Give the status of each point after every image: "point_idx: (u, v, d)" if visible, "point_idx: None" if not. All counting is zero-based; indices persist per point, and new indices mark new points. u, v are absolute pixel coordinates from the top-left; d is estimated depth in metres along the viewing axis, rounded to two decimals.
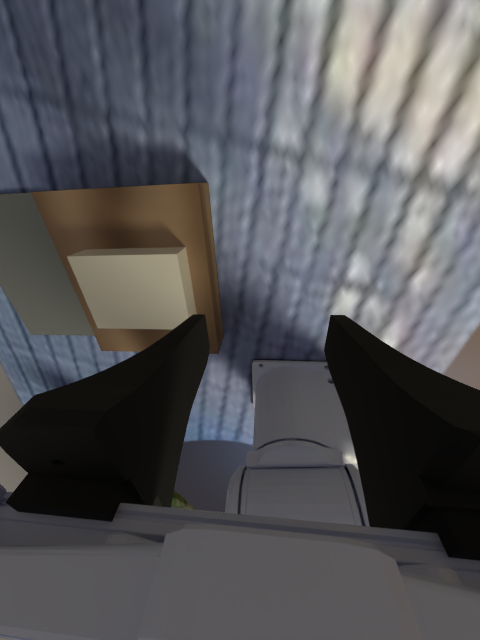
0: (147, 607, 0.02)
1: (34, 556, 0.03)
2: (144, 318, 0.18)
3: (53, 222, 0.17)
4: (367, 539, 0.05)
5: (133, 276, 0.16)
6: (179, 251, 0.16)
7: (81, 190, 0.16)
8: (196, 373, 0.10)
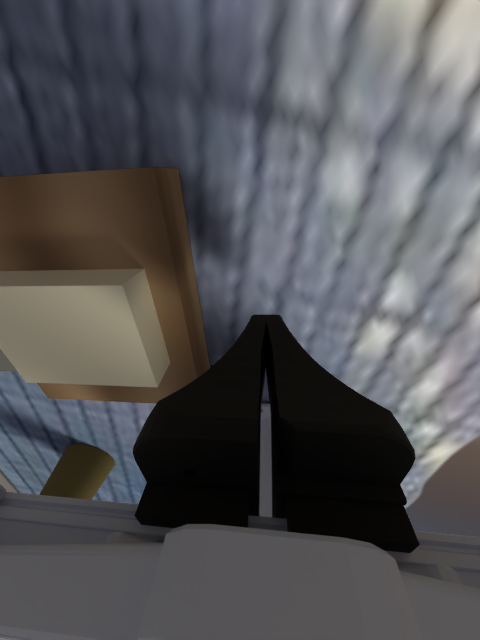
0: (147, 607, 0.02)
1: (34, 556, 0.03)
2: (88, 372, 0.12)
3: None
4: None
5: (61, 317, 0.10)
6: (130, 279, 0.10)
7: None
8: (263, 376, 0.10)
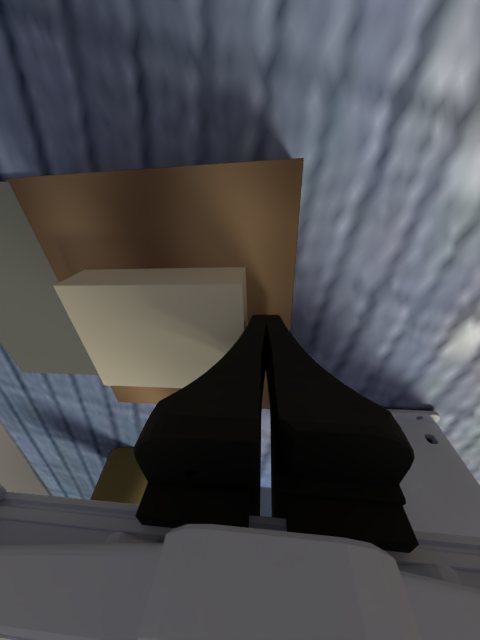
0: (147, 607, 0.02)
1: (34, 556, 0.03)
2: (176, 375, 0.12)
3: (46, 229, 0.10)
4: None
5: (163, 317, 0.10)
6: (243, 278, 0.09)
7: (92, 174, 0.09)
8: (263, 376, 0.10)
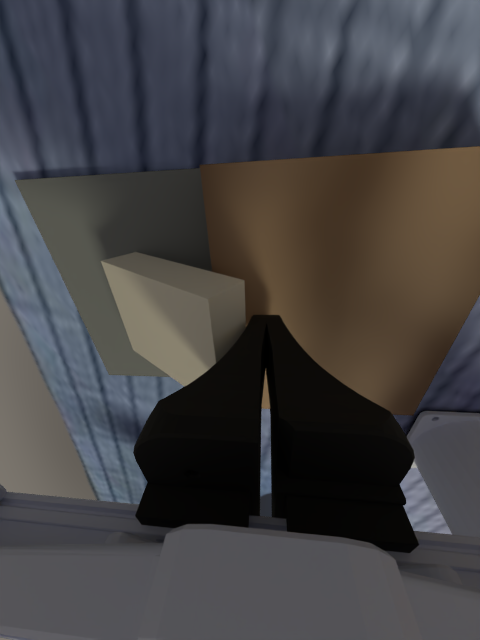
0: (147, 607, 0.02)
1: (34, 556, 0.03)
2: (170, 366, 0.12)
3: (223, 221, 0.10)
4: None
5: (157, 310, 0.10)
6: (220, 292, 0.08)
7: (303, 160, 0.08)
8: (263, 376, 0.10)
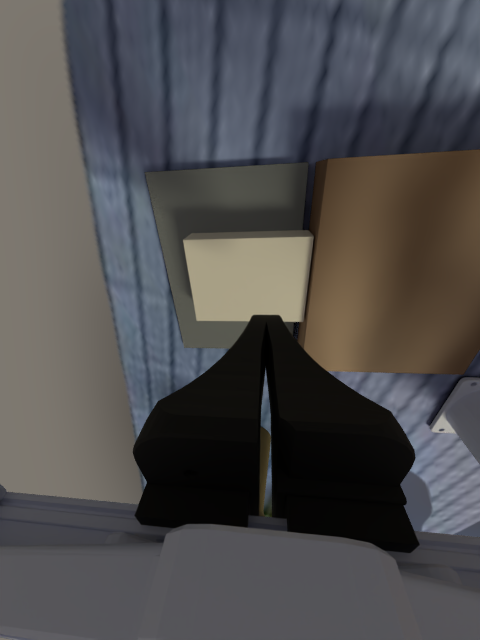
0: (147, 607, 0.02)
1: (34, 556, 0.03)
2: (253, 310, 0.17)
3: (336, 204, 0.12)
4: None
5: (255, 263, 0.15)
6: None
7: (412, 155, 0.11)
8: (263, 376, 0.10)
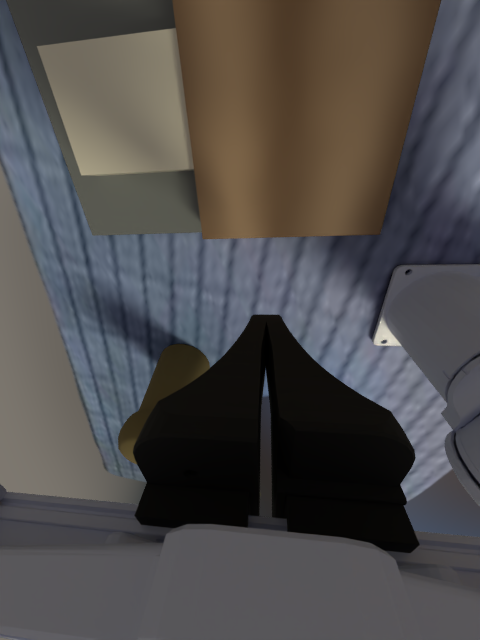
0: (147, 607, 0.02)
1: (34, 556, 0.03)
2: (137, 154, 0.15)
3: None
4: None
5: (122, 77, 0.13)
6: None
7: None
8: (263, 376, 0.10)
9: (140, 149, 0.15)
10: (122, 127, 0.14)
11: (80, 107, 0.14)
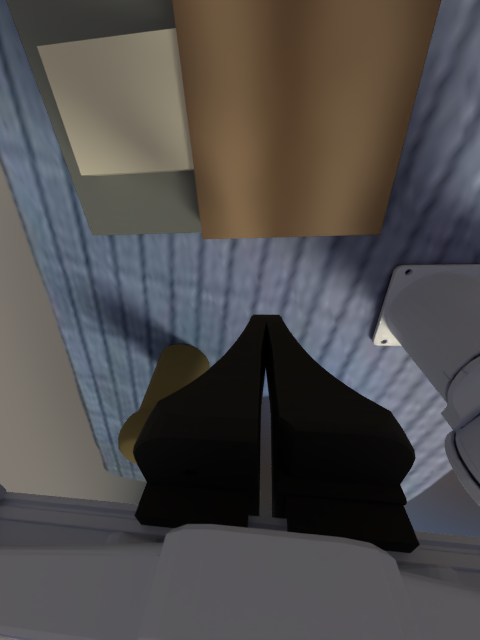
0: (147, 607, 0.02)
1: (34, 556, 0.03)
2: (137, 154, 0.15)
3: None
4: None
5: (122, 77, 0.13)
6: None
7: None
8: (263, 376, 0.10)
9: (140, 149, 0.15)
10: (122, 127, 0.14)
11: (80, 107, 0.14)
